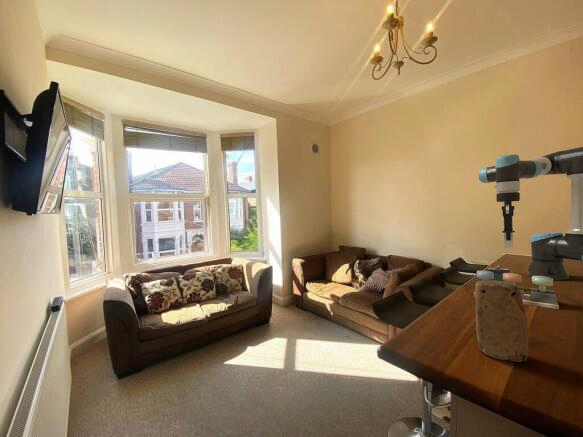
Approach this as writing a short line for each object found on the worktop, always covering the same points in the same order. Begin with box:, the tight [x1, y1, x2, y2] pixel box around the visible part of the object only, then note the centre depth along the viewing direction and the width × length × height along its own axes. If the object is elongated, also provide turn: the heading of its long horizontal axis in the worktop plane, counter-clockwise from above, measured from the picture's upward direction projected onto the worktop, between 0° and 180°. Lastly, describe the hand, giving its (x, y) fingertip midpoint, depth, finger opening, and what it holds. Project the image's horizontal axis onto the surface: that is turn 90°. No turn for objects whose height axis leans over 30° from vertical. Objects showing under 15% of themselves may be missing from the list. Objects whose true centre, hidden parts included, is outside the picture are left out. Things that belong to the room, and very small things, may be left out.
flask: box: [485, 265, 511, 282], centre depth 120 cm, size 9×3×11 cm, turn 68°
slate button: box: [476, 270, 494, 280], centre depth 112 cm, size 6×6×6 cm
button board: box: [473, 281, 560, 310], centre depth 106 cm, size 26×10×5 cm, turn 48°
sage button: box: [531, 276, 554, 293], centre depth 99 cm, size 6×6×6 cm
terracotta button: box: [503, 272, 523, 286], centre depth 105 cm, size 6×6×6 cm
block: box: [474, 279, 529, 363], centre depth 68 cm, size 11×8×20 cm
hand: (508, 247), depth 106 cm, fingers closed
